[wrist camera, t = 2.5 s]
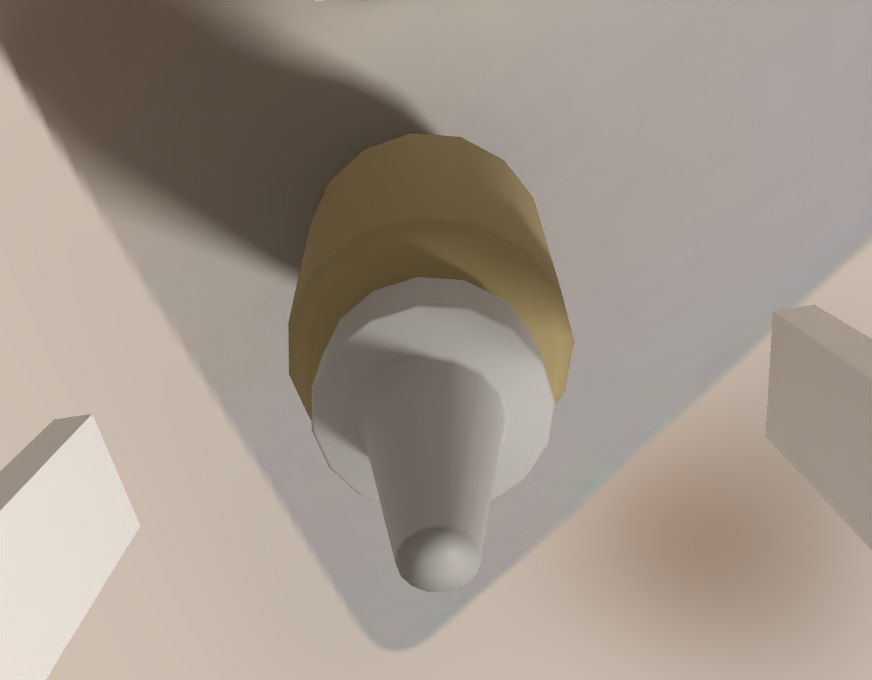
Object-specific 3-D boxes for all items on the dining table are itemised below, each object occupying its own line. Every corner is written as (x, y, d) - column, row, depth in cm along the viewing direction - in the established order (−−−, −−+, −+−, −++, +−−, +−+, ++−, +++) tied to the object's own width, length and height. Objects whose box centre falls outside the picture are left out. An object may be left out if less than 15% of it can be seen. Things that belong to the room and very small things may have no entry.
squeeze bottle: (557, 156, 24) (857, 373, 8) (491, 343, 27) (602, 784, 11) (347, 93, 23) (168, 188, 6) (304, 296, 26) (109, 707, 10)
